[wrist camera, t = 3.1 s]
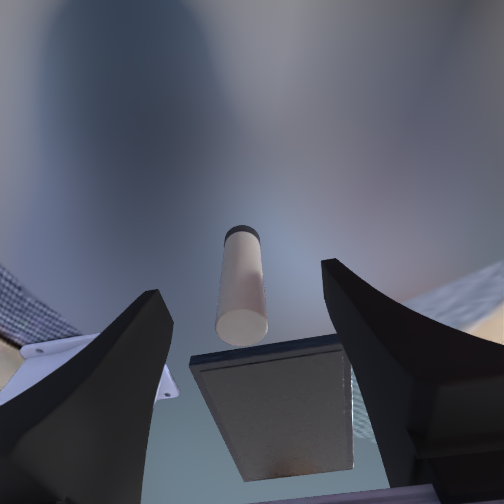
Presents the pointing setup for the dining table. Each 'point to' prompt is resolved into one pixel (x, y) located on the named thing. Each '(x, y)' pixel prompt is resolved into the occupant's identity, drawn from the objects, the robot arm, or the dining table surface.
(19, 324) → the dining table surface
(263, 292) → the white cylinder
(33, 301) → the dining table surface
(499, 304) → the dining table surface
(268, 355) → the tablet
